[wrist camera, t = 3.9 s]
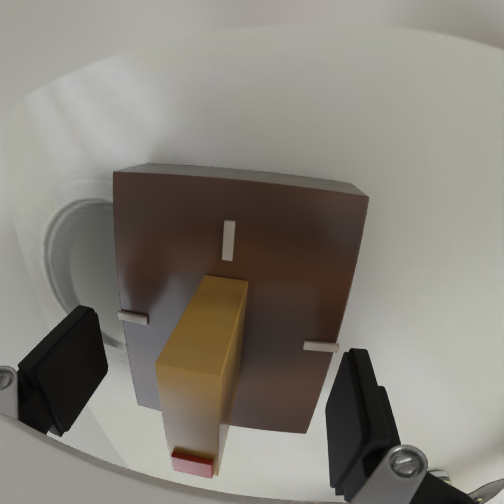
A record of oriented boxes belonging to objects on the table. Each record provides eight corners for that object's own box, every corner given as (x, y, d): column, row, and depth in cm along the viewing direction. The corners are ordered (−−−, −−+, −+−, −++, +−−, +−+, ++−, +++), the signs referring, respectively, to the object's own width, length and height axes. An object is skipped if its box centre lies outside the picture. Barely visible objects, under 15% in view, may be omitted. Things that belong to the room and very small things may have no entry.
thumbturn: (204, 274, 11) (150, 370, 6) (248, 280, 11) (219, 384, 6) (203, 375, 13) (169, 471, 8) (238, 381, 13) (216, 482, 8)
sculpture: (520, 470, 21) (510, 517, 18) (482, 468, 29) (474, 510, 26) (463, 493, 21) (451, 545, 18) (425, 484, 29) (416, 529, 26)
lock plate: (143, 163, 13) (108, 171, 10) (354, 183, 13) (373, 198, 10) (154, 370, 18) (135, 406, 15) (307, 394, 17) (308, 436, 14)
